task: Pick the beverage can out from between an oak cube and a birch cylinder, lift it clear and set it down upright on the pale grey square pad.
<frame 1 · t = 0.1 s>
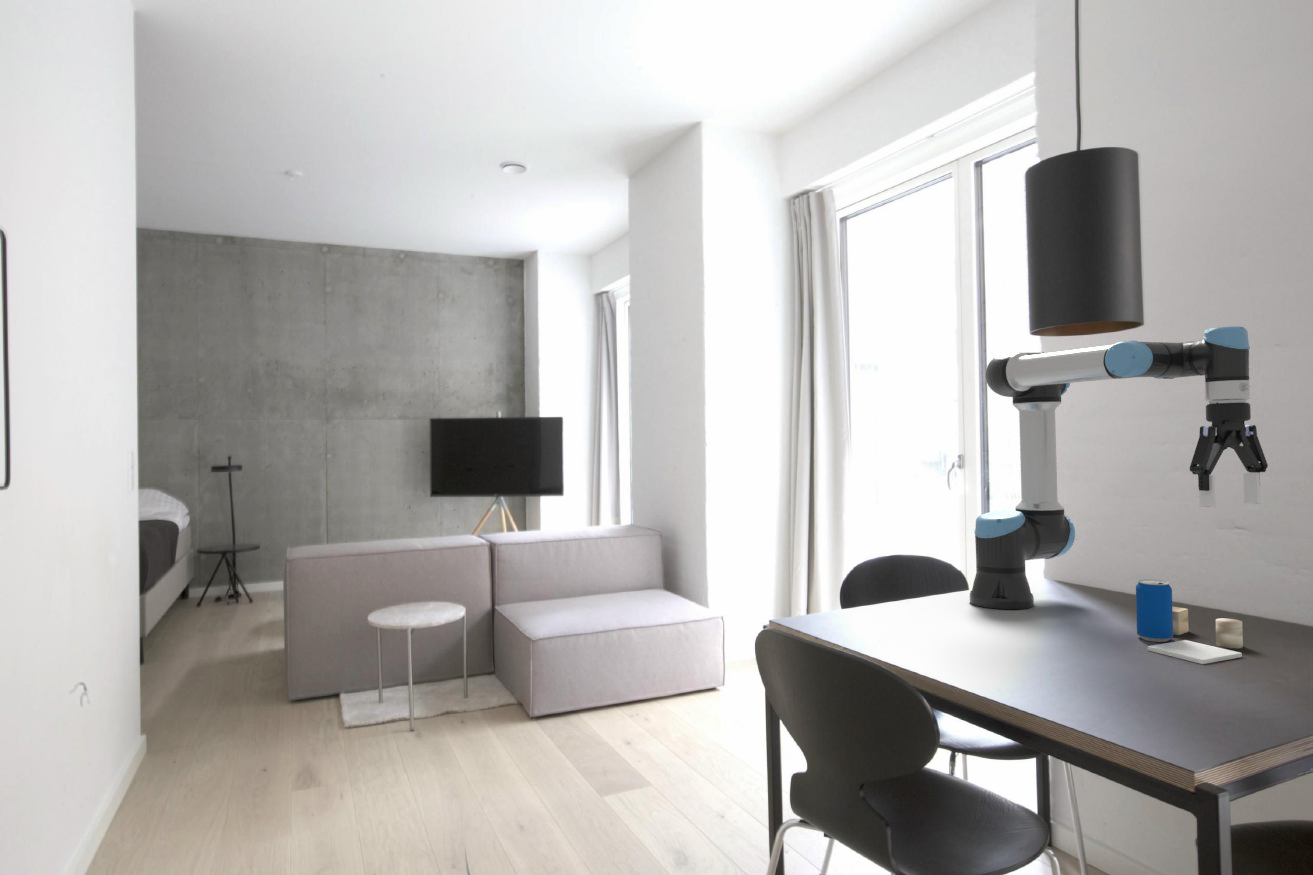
hand: (1230, 505, 166), 28 cm above the table, fingers open, 13 cm apart
oak cube: (1170, 631, 175), on the table
beverage can: (1154, 639, 168), on the table
pad: (1193, 653, 157), on the table
birch cylinder: (1229, 645, 162), on the table
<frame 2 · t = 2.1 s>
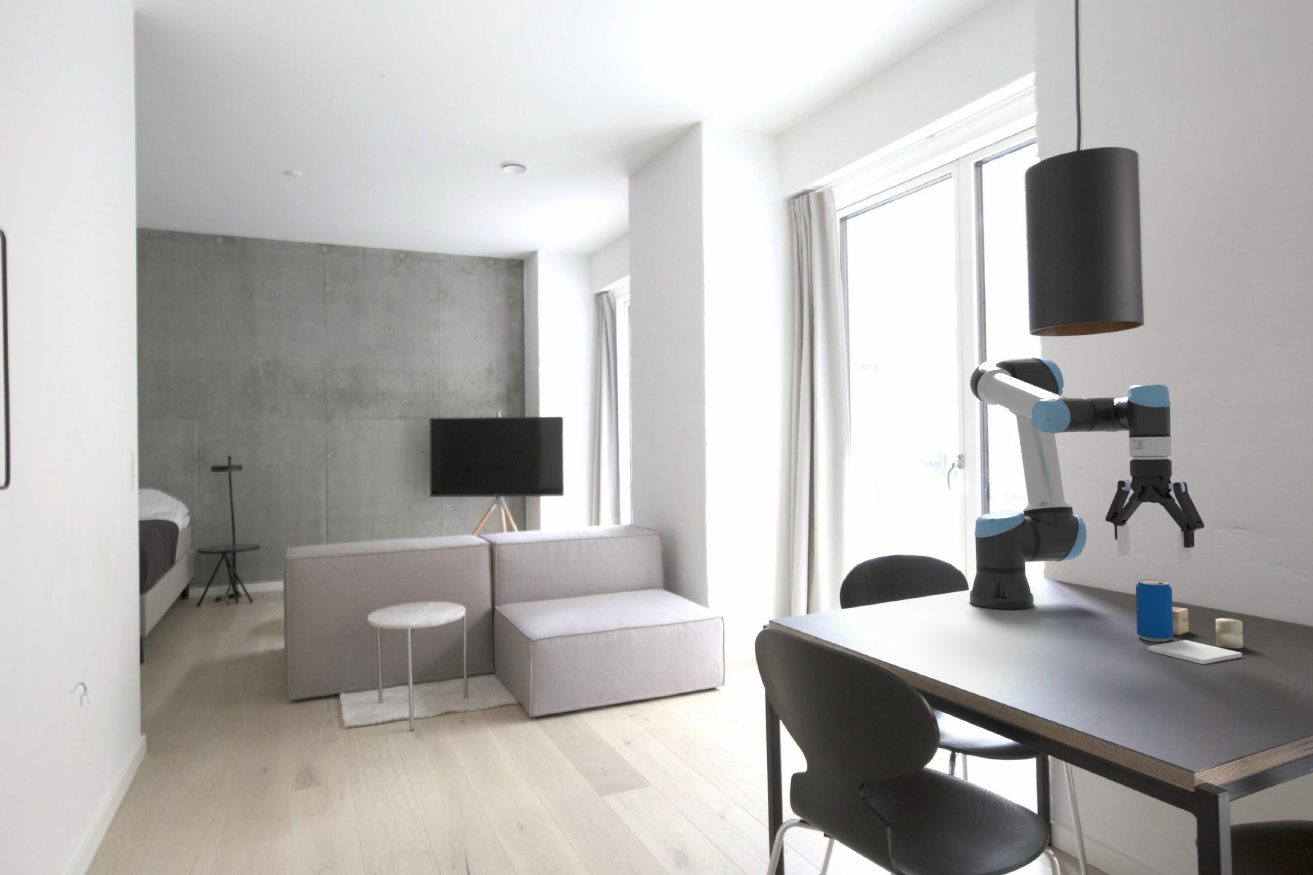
hand: (1153, 559, 168), 17 cm above the table, fingers open, 13 cm apart
nothing on the table moved.
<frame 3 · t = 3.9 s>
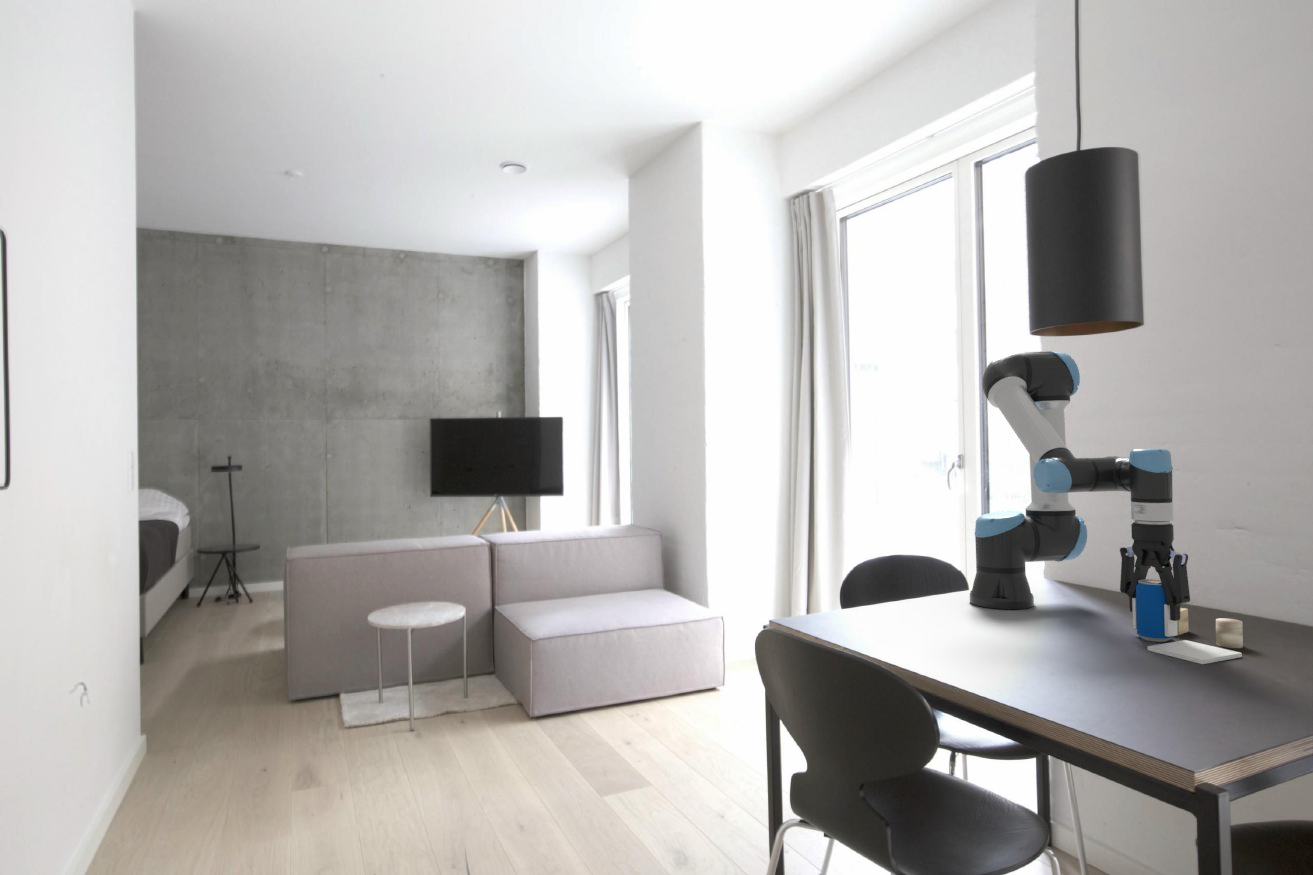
hand: (1154, 631, 168), 1 cm above the table, fingers closed on beverage can, 6 cm apart
beverage can: (1155, 639, 168), on the table, touching gripper
everything else where it was.
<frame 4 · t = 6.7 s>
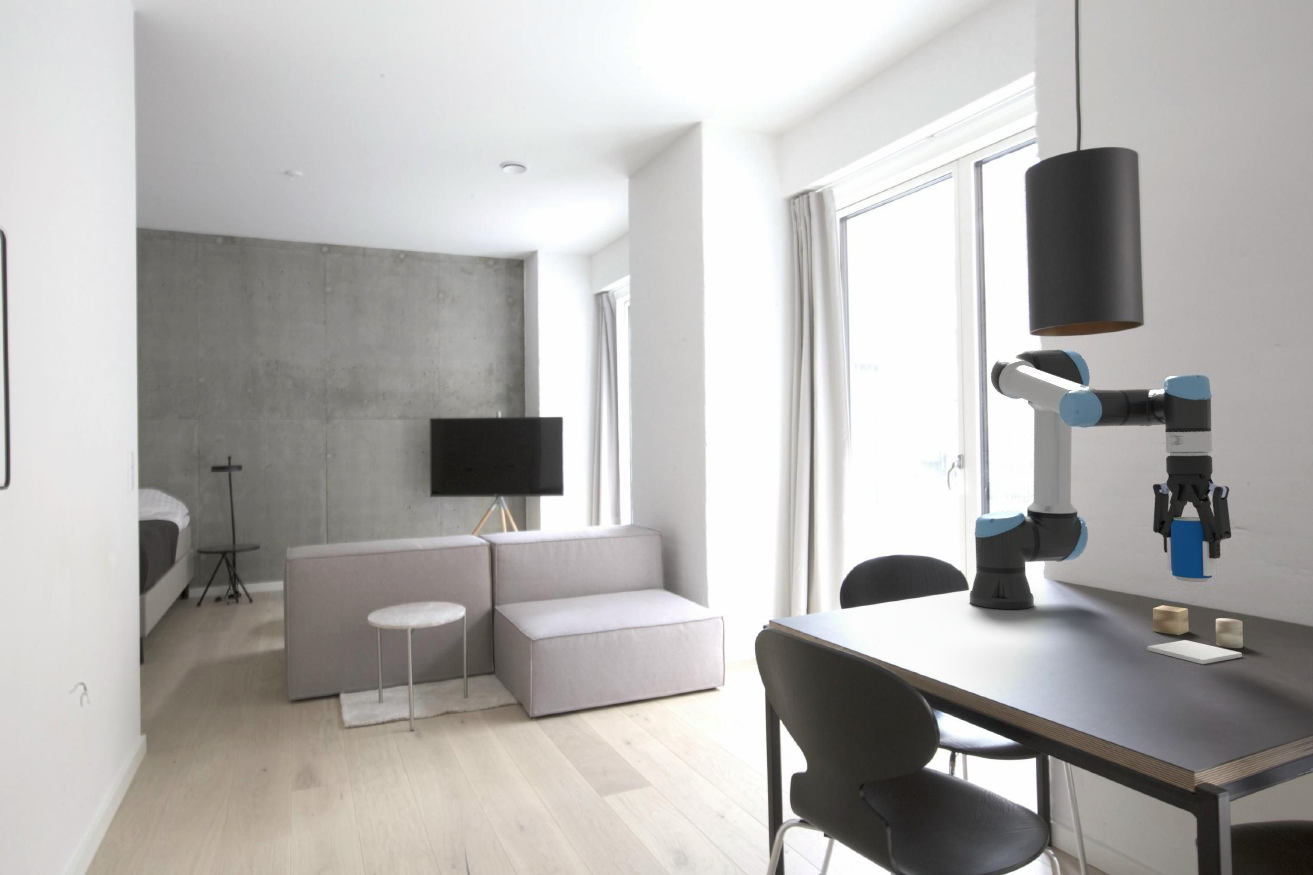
hand: (1191, 572, 157), 16 cm above the table, fingers closed on beverage can, 6 cm apart
beverage can: (1192, 580, 157), point 14 cm above the table, touching gripper
everything else where it was.
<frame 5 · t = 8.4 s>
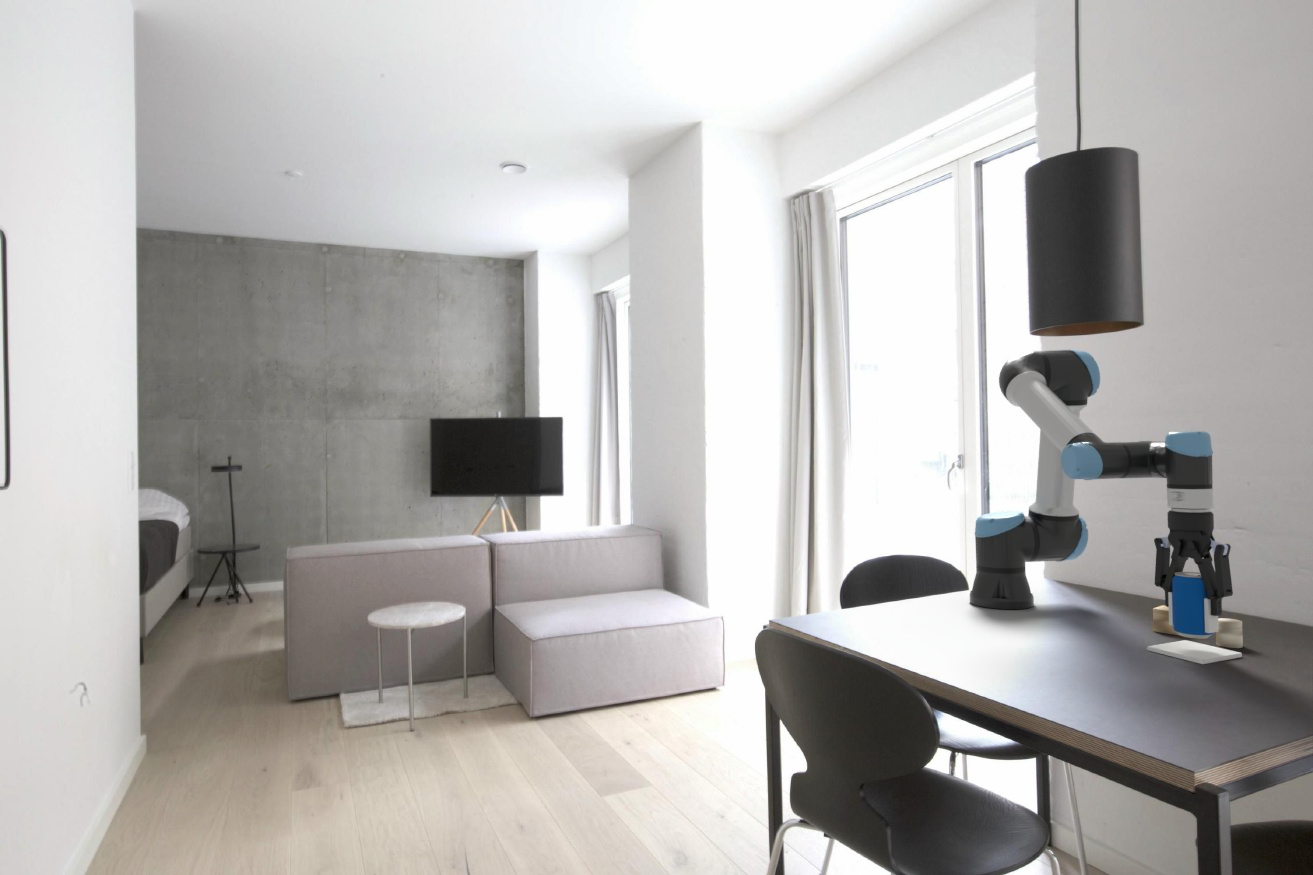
hand: (1193, 627, 157), 5 cm above the table, fingers closed on beverage can, 6 cm apart
beverage can: (1193, 636, 157), point 3 cm above the table, touching gripper
everything else where it was.
when the fingers open (4 cm above the table, at t = 9.5 s): beverage can drops 1 cm, resting on pad.
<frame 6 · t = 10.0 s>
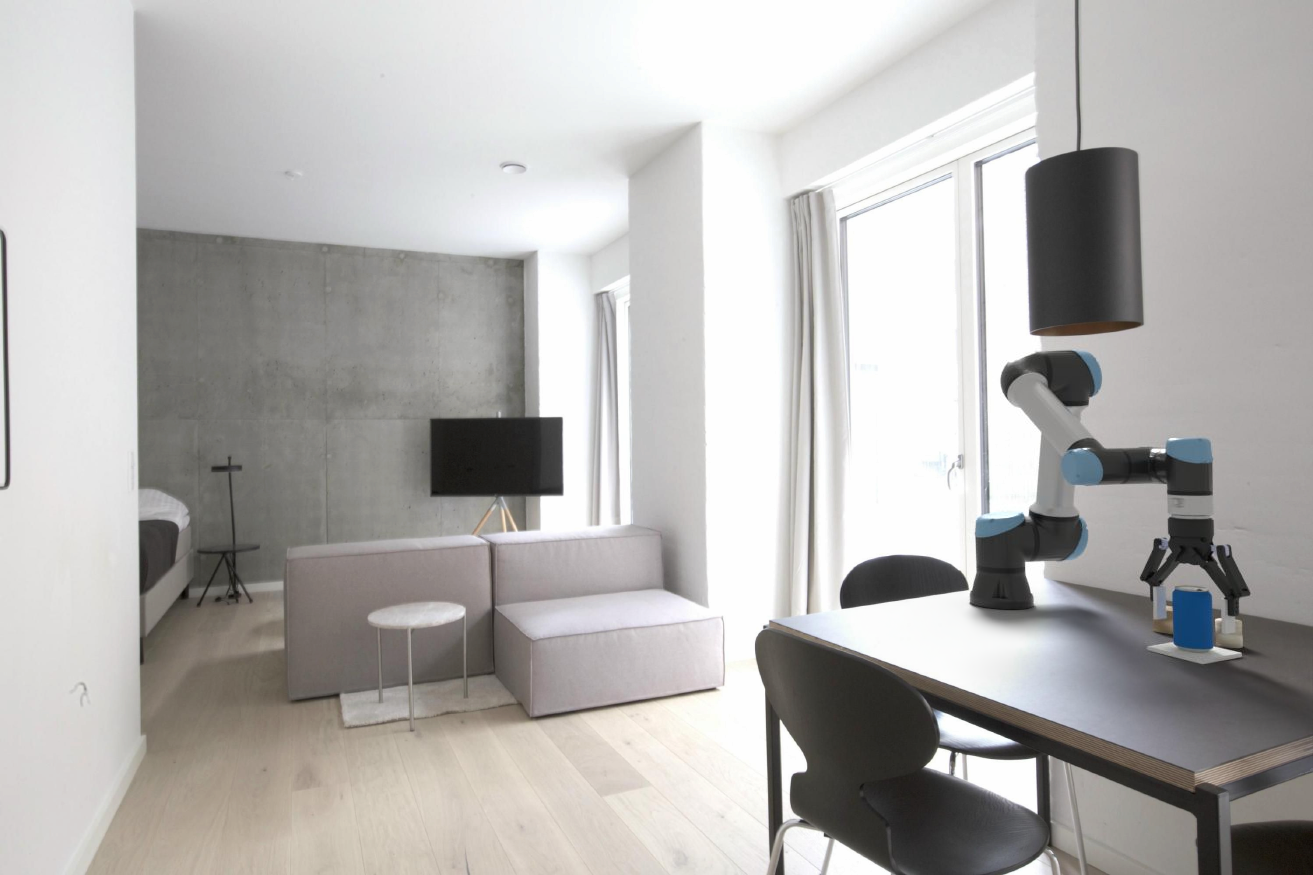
hand: (1193, 625, 157), 5 cm above the table, fingers open, 13 cm apart
beverage can: (1193, 650, 157), point 1 cm above the table, touching pad
everything else where it was.
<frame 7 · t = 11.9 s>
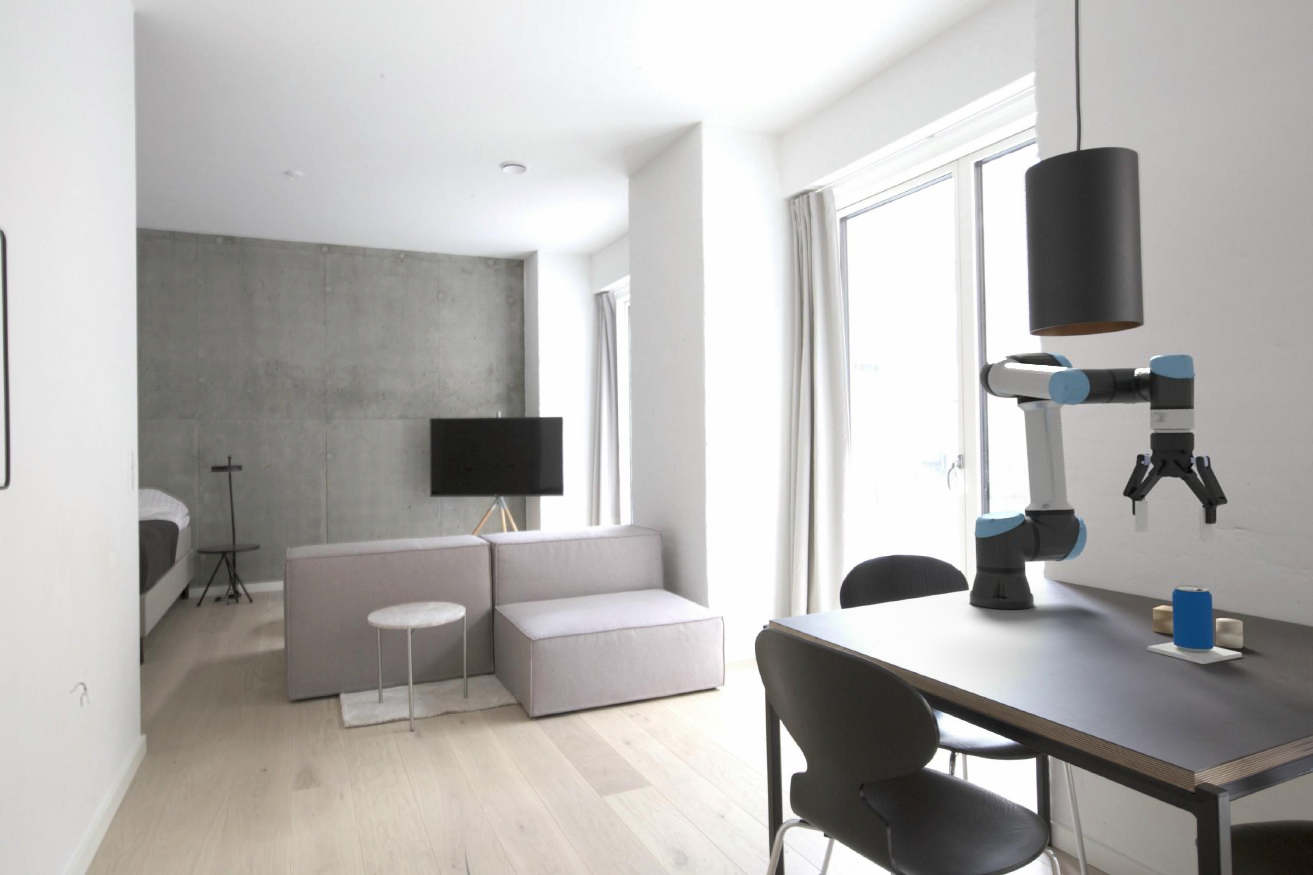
hand: (1172, 535, 163), 22 cm above the table, fingers open, 13 cm apart
nothing on the table moved.
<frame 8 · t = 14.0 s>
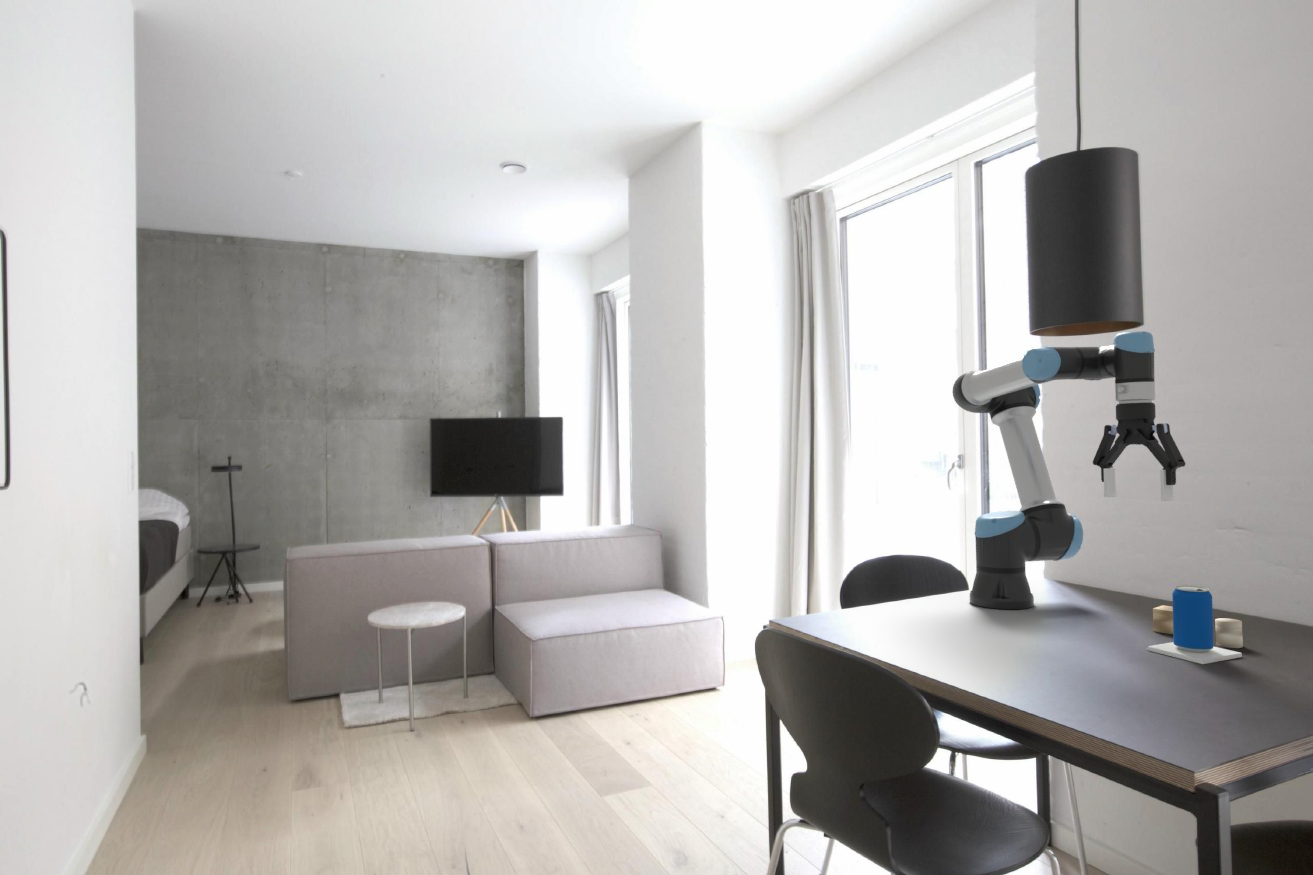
hand: (1137, 498, 177), 29 cm above the table, fingers open, 13 cm apart
nothing on the table moved.
at the end: beverage can inside the target area on the pad (0.1 cm from its centre), point 0.6 cm above the pad's base; beverage can tilted 0°; the gripper is holding nothing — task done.
